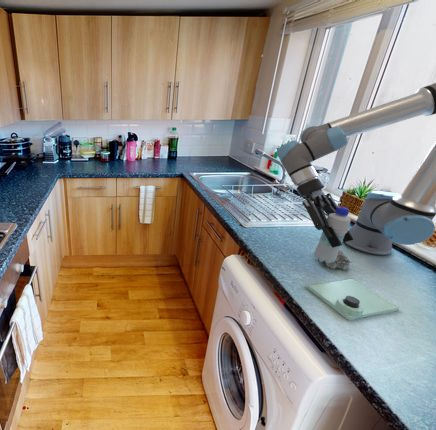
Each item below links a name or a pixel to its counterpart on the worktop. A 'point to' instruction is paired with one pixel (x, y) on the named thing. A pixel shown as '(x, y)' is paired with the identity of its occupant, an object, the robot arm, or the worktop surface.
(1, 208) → the worktop surface
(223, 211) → the worktop surface
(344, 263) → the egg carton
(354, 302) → the button
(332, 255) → the bottle
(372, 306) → the scale
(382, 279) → the worktop surface
